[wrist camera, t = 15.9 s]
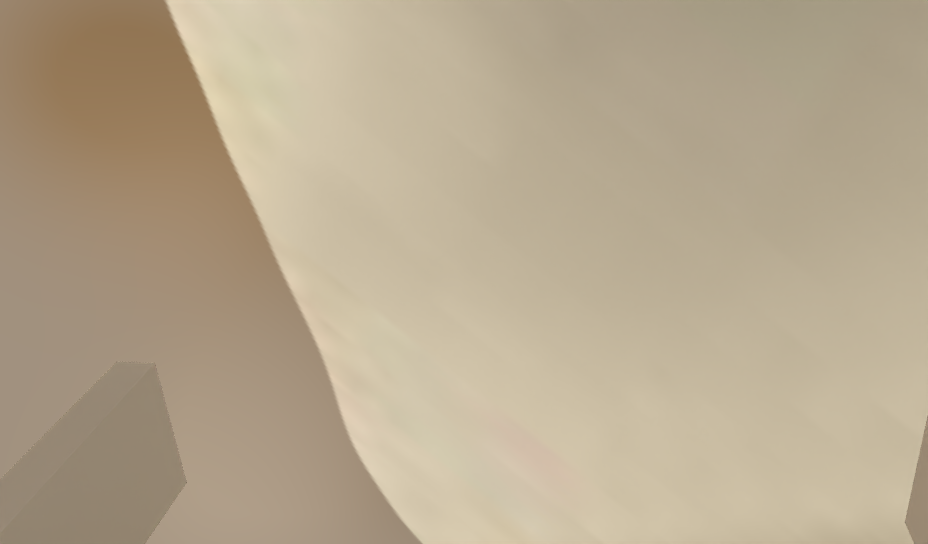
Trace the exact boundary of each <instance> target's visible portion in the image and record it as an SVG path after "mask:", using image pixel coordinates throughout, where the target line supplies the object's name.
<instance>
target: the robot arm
mask: <svg viewBox="0 0 928 544" xmlns="http://www.w3.org/2000/svg"><path fill="white" fill-rule="evenodd" d="M186 483H187V482H186V478H185V475H184V470H183V467H182V463H181V459H180V456H179V452H178V448H177V444H176V441H175V437H174V433H173V429H172V425H171V422H170V418H169V414H168V410H167V407H166V403H165V399H164V395H163V392H162V388H161V384H160V380H159V377H158V373H157V369H156V365H155V363H135V362H116V363H115V364H114V365H113V366H112V367H111V368H110V369H109V370H108V371H107V372H106V373H105V374H104V375H103V376H102V377H101V378H100V379H99V380H98V381H97V382H96V383H95V384H94V385H93V386H92V387H91V388H90V389H89V390H88V391H87V392H86V393H85V394H84V395H83V396H82V397H81V398H80V399H79V400H78V401H77V402H76V403H75V404H74V405H73V406H72V407H71V408H70V409H69V411H68V412H66V414H65V415H63V417H62V418H60V419H59V420H58V421H57V422H56V423H55V424H54V426H53V427H52V428H51V429H50V430H49V431H48V432H47V433H46V434H45V435H44V436H43V437H42V438H41V439H40V440H39V441H38V442H37V443H36V444H35V445H34V446H33V447H32V448H31V449H30V450H29V451H28V452H27V453H26V454H25V455H24V456H23V457H22V458H21V459H20V460H19V461H18V462H17V463H16V464H15V465H14V466H13V467H12V468H11V469H10V470H9V471H8V472H7V473H6V474H5V475H4V476H3V477H2V478H1V479H0V544H145V543H146V542H147V540H148V539H149V537H150V536H151V534H152V533H153V531H154V530H155V528H156V527H157V525H158V524H159V523H160V521H161V519H162V518H163V516H164V515H165V514H166V512H167V511H168V509H169V508H170V506H171V505H172V503H173V502H174V500H175V499H176V497H177V496H178V495H179V493H180V492H181V490H182V489H183V487H184V486H185V484H186ZM905 524H906V526H907V528H908V530H909V533H910V535H911V537H912V539H913V541H914V544H928V417H927V421H926V426H925V431H924V435H923V440H922V445H921V449H920V454H919V459H918V463H917V468H916V473H915V477H914V482H913V487H912V492H911V496H910V501H909V506H908V510H907V515H906V520H905Z"/></svg>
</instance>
